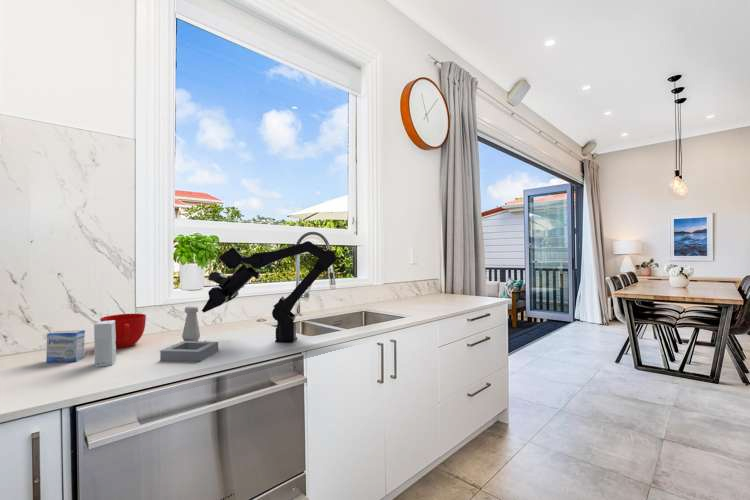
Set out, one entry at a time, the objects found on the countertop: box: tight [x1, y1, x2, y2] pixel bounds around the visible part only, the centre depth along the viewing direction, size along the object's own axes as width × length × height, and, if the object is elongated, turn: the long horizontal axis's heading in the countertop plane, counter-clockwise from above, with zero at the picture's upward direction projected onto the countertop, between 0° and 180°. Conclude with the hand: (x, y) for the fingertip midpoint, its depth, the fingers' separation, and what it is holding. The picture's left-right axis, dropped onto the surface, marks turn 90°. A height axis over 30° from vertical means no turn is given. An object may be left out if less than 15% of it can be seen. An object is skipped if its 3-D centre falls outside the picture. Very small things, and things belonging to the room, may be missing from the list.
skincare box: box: [93, 320, 117, 368], centre depth 109 cm, size 6×4×12 cm
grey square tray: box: [159, 340, 219, 363], centre depth 117 cm, size 12×12×3 cm
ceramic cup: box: [100, 313, 147, 349], centre depth 127 cm, size 13×17×10 cm
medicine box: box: [45, 329, 86, 364], centre depth 112 cm, size 8×4×9 cm, turn 101°
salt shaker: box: [181, 305, 201, 341], centre depth 134 cm, size 6×6×13 cm
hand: (207, 309), depth 135 cm, fingers open, 9 cm apart
